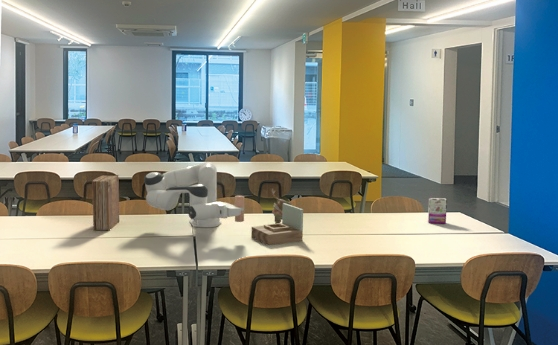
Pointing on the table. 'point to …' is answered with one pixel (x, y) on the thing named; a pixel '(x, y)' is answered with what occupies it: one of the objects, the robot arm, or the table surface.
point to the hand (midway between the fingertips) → (240, 207)
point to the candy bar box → (437, 210)
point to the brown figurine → (278, 208)
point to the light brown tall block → (239, 203)
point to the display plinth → (282, 228)
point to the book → (105, 202)
